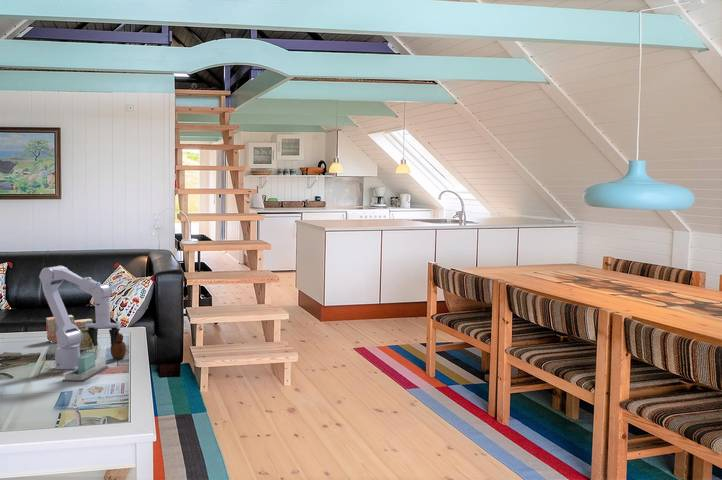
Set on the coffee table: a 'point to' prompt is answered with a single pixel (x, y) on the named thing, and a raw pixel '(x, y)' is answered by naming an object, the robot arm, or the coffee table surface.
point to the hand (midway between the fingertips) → (104, 345)
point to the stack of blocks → (53, 327)
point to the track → (84, 373)
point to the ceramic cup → (85, 339)
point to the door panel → (86, 362)
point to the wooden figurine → (118, 347)
